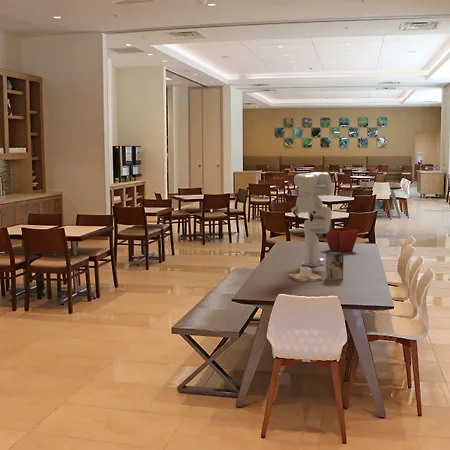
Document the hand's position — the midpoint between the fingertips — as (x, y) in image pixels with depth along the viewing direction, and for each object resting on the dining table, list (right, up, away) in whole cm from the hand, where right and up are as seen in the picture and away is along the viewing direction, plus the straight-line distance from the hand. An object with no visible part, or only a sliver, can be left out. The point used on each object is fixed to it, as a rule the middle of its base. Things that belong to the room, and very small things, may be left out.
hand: (304, 221), depth 399 cm
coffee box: (+17, -36, -15) cm, 42 cm away
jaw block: (-1, -34, -14) cm, 37 cm away
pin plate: (-1, -36, -14) cm, 38 cm away
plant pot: (+39, -23, +83) cm, 95 cm away
